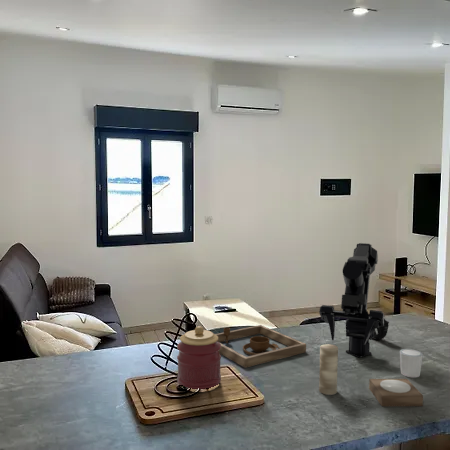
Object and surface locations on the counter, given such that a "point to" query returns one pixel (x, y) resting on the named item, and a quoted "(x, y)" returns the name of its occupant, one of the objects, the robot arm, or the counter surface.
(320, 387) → the birch pillar
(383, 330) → the controller
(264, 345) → the place setting
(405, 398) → the walnut plinth
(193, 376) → the canister
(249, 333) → the oak tray rim
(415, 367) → the white short cylinder
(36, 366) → the counter surface
